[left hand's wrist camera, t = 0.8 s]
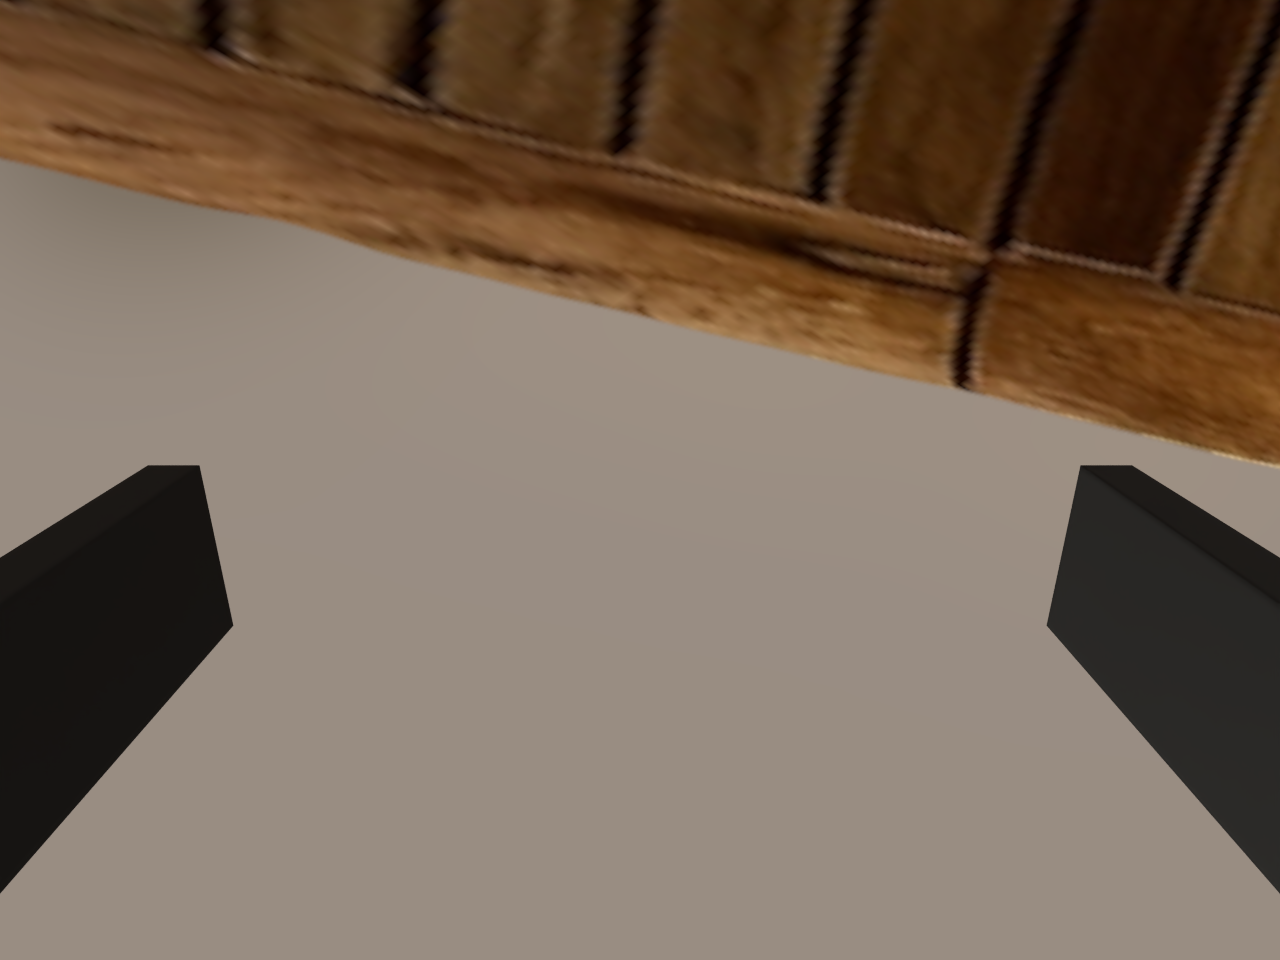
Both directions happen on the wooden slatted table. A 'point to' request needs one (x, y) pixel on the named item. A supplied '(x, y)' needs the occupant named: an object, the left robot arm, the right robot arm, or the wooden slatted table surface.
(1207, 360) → the wooden slatted table surface
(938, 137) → the wooden slatted table surface
